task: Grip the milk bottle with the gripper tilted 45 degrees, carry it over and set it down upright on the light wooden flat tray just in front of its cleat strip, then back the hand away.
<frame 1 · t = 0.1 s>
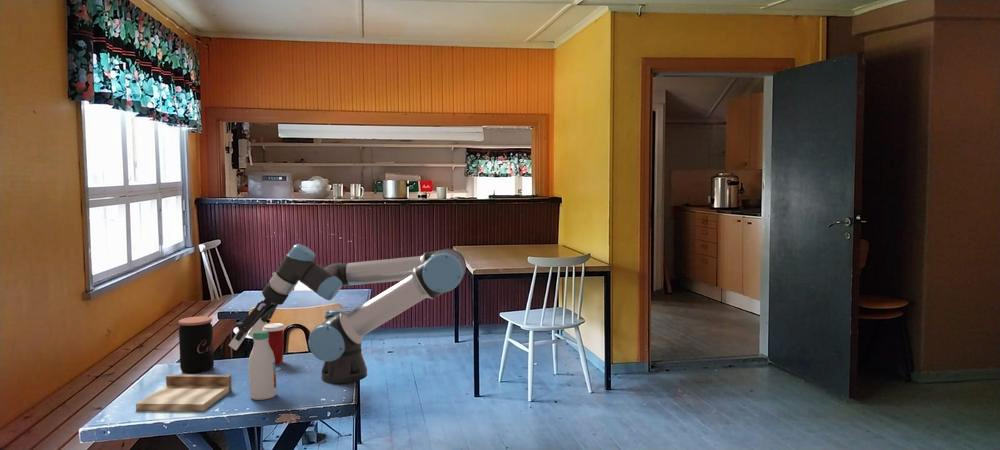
hand: (242, 342, 204), 15 cm above the table, tool tilted 35°, fingers open, 13 cm apart
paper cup: (274, 363, 234), on the table
light wooden flat tray: (185, 399, 195), on the table
milk bottle: (263, 397, 198), on the table
coffee jar: (197, 370, 226), on the table
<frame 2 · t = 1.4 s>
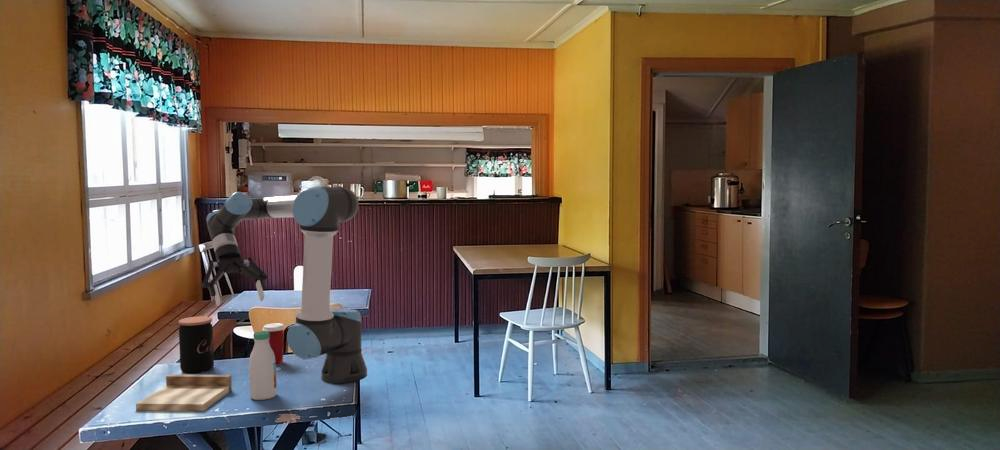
hand: (241, 301, 207), 28 cm above the table, tool tilted 45°, fingers open, 13 cm apart
nothing on the table moved.
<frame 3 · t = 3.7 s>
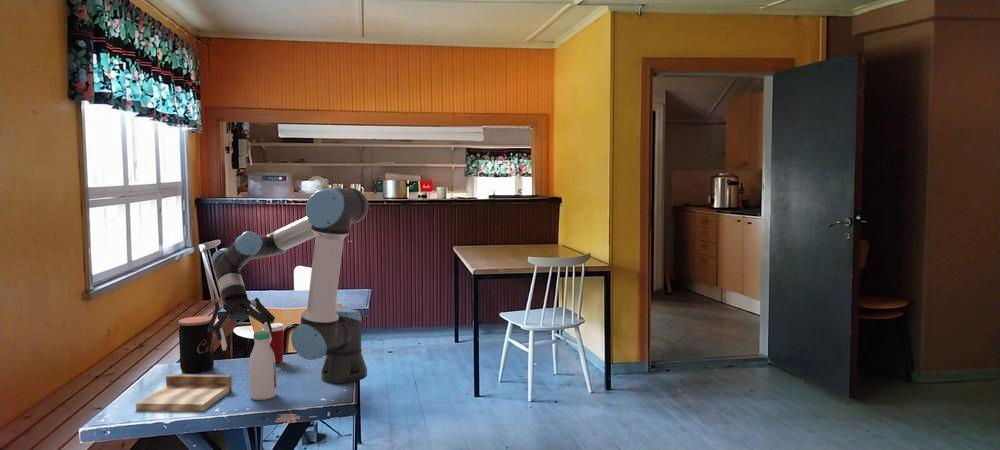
hand: (247, 344, 200), 15 cm above the table, tool tilted 45°, fingers open, 13 cm apart
nothing on the table moved.
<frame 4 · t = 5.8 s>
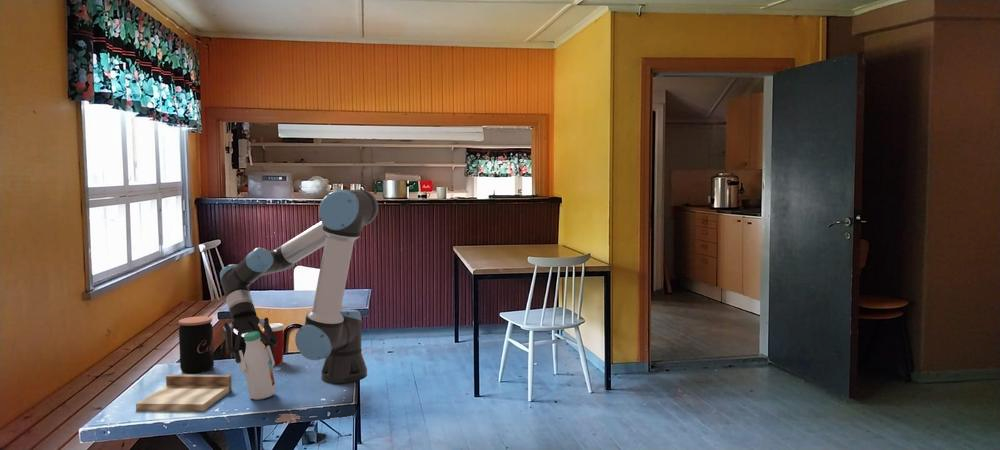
hand: (258, 368, 195), 10 cm above the table, tool tilted 45°, fingers closed on milk bottle, 8 cm apart
milk bottle: (263, 395, 198), on the table, touching gripper
everything else where it was.
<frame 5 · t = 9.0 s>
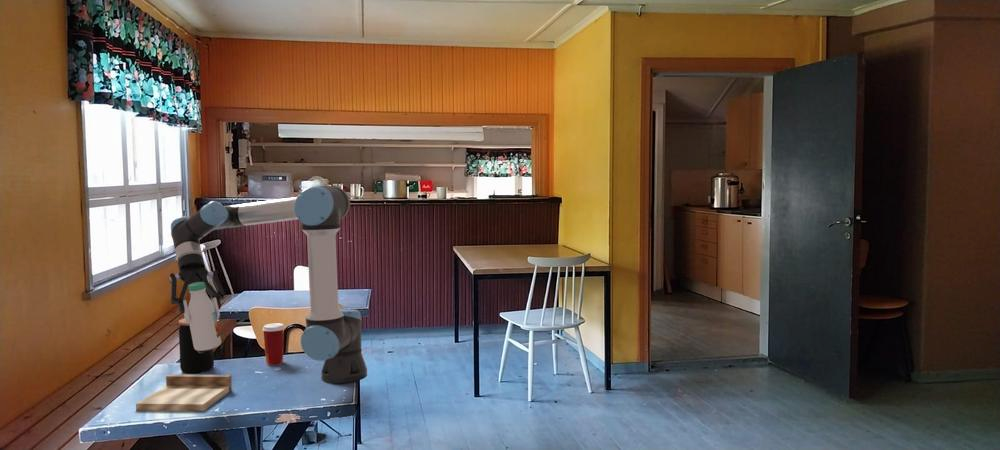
hand: (203, 319, 192), 25 cm above the table, tool tilted 45°, fingers closed on milk bottle, 8 cm apart
milk bottle: (208, 347, 195), point 16 cm above the table, touching gripper
everything else where it was.
when the fingers open (13 cm above the table, at t = 12.3 s): milk bottle drops 2 cm, resting on light wooden flat tray.
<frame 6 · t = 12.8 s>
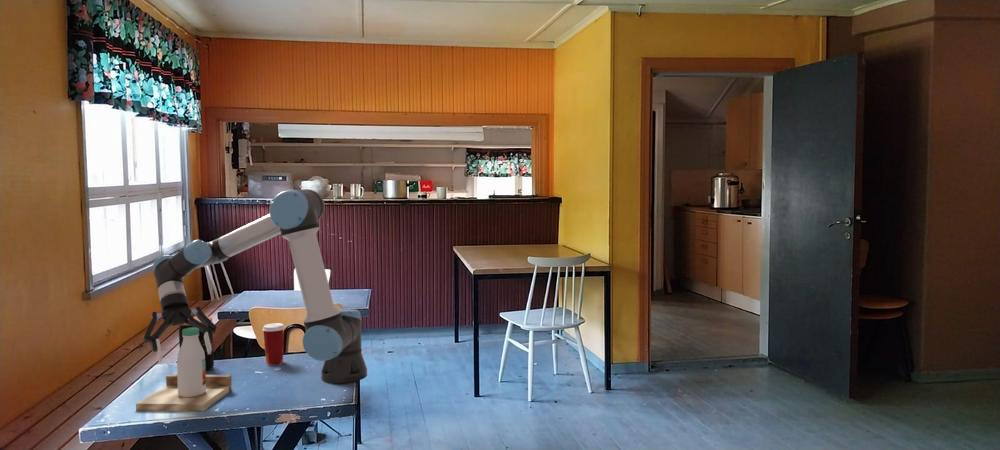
hand: (185, 355, 192), 14 cm above the table, tool tilted 45°, fingers open, 13 cm apart
milk bottle: (192, 394, 195), point 2 cm above the table, touching light wooden flat tray
everything else where it was.
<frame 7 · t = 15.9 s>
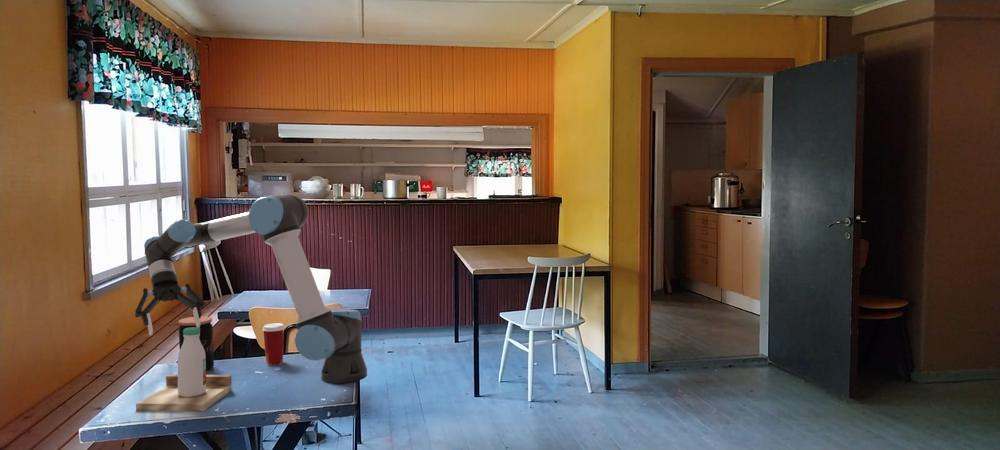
hand: (175, 329, 202), 20 cm above the table, tool tilted 45°, fingers open, 13 cm apart
nothing on the table moved.
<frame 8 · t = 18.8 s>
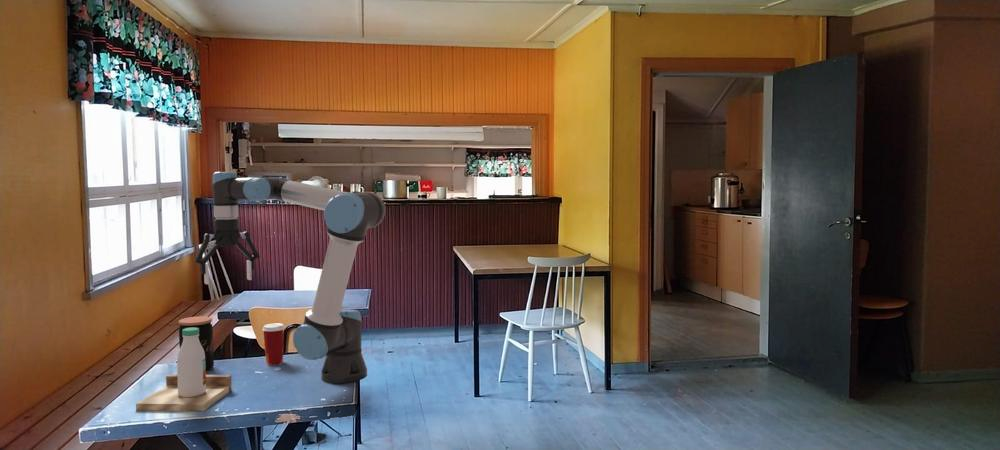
hand: (228, 281, 215), 33 cm above the table, tool pointing down, fingers open, 13 cm apart
nothing on the table moved.
at the end: milk bottle inside the target area on the light wooden flat tray (2.7 cm from its centre), point 1.9 cm above the light wooden flat tray's base; milk bottle tilted 1°; the gripper is holding nothing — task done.
